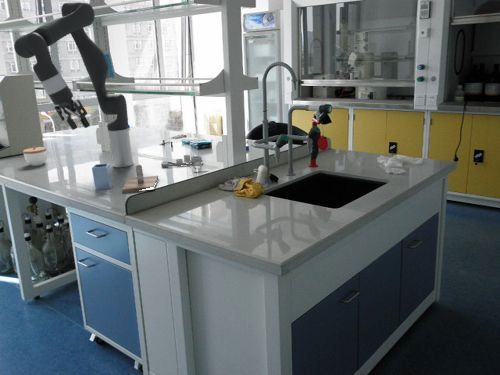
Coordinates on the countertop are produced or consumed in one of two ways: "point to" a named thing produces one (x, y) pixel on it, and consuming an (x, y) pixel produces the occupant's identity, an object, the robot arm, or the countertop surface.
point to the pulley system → (194, 160)
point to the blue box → (102, 176)
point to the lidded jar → (35, 155)
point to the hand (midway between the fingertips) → (81, 127)
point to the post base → (139, 186)
